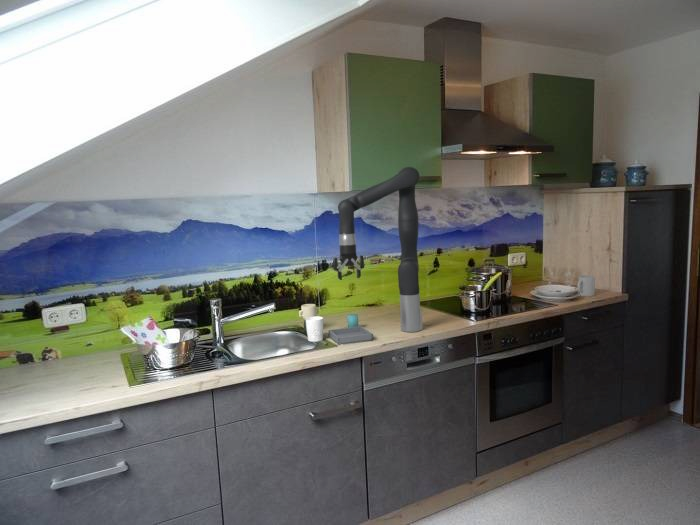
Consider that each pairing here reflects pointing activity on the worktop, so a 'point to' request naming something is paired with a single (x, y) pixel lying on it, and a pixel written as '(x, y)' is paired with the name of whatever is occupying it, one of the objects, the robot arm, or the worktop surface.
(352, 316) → the teal capsule
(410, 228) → the robot arm
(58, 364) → the worktop surface
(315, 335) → the white cup
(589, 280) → the mug
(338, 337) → the tray
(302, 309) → the character mug
